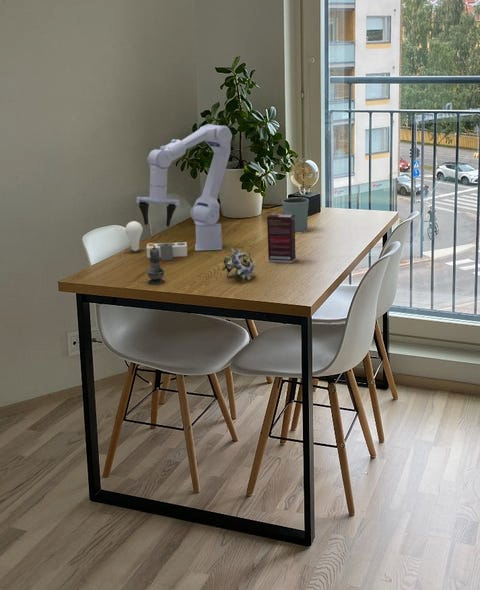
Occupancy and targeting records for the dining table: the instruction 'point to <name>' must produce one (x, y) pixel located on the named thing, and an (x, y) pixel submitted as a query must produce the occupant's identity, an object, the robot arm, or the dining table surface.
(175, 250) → the power strip
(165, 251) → the block
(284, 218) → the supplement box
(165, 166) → the robot arm
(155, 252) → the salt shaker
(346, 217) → the dining table surface
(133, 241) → the lightbulb
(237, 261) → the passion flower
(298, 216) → the grey green plant pot
